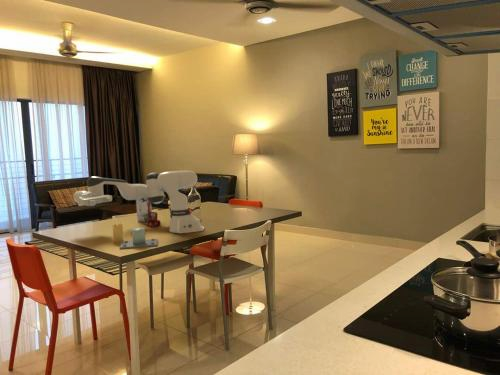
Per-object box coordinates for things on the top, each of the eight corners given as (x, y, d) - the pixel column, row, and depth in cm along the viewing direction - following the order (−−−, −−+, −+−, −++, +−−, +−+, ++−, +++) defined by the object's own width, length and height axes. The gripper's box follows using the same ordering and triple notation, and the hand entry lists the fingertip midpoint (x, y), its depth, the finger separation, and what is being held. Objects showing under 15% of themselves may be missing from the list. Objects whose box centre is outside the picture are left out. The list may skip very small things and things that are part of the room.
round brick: (124, 239, 245) (122, 222, 244) (123, 242, 240) (121, 224, 239) (114, 240, 244) (113, 223, 243) (113, 242, 239) (111, 225, 238)
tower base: (157, 240, 241) (156, 225, 240) (157, 246, 227) (156, 230, 226) (122, 243, 237) (121, 228, 236) (119, 249, 223) (118, 233, 222)
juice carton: (135, 222, 301) (133, 185, 298) (142, 219, 311) (140, 184, 308) (146, 222, 299) (144, 185, 296) (153, 219, 309) (151, 183, 306)
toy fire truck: (153, 224, 291) (152, 209, 290) (162, 226, 281) (161, 211, 280) (144, 225, 286) (143, 211, 285) (152, 228, 277) (151, 213, 276)
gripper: (105, 201, 267) (117, 203, 258) (75, 206, 251) (87, 208, 242) (105, 192, 266) (117, 194, 257) (75, 195, 250) (87, 198, 241)
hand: (102, 201), depth 250 cm, fingers open, 8 cm apart
